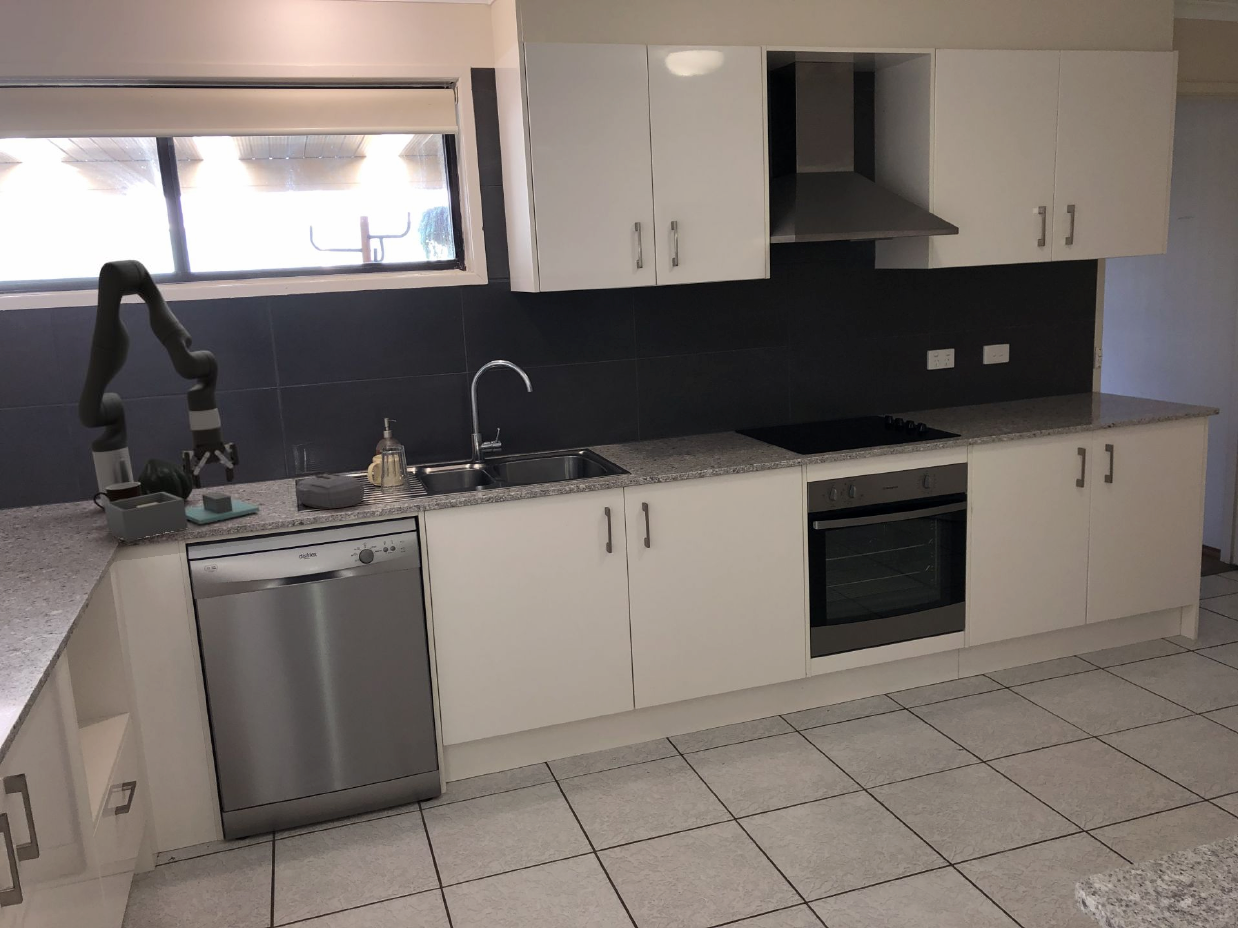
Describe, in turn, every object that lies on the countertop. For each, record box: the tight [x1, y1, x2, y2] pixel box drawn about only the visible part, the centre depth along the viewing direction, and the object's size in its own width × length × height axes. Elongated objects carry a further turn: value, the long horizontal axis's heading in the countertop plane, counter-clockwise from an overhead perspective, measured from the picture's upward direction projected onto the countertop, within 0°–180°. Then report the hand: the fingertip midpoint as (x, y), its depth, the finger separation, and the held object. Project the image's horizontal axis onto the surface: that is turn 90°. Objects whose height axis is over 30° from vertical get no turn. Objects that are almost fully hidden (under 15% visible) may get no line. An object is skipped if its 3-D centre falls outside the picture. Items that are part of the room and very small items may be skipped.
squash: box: [137, 457, 194, 501], centre depth 287 cm, size 14×15×15 cm
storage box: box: [104, 492, 189, 543], centre depth 258 cm, size 15×15×8 cm
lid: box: [185, 491, 260, 525], centre depth 270 cm, size 16×16×6 cm
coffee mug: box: [92, 481, 141, 511], centre depth 271 cm, size 12×9×10 cm
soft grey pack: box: [295, 472, 366, 510], centre depth 275 cm, size 15×8×20 cm
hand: (214, 484), depth 269 cm, fingers open, 8 cm apart
